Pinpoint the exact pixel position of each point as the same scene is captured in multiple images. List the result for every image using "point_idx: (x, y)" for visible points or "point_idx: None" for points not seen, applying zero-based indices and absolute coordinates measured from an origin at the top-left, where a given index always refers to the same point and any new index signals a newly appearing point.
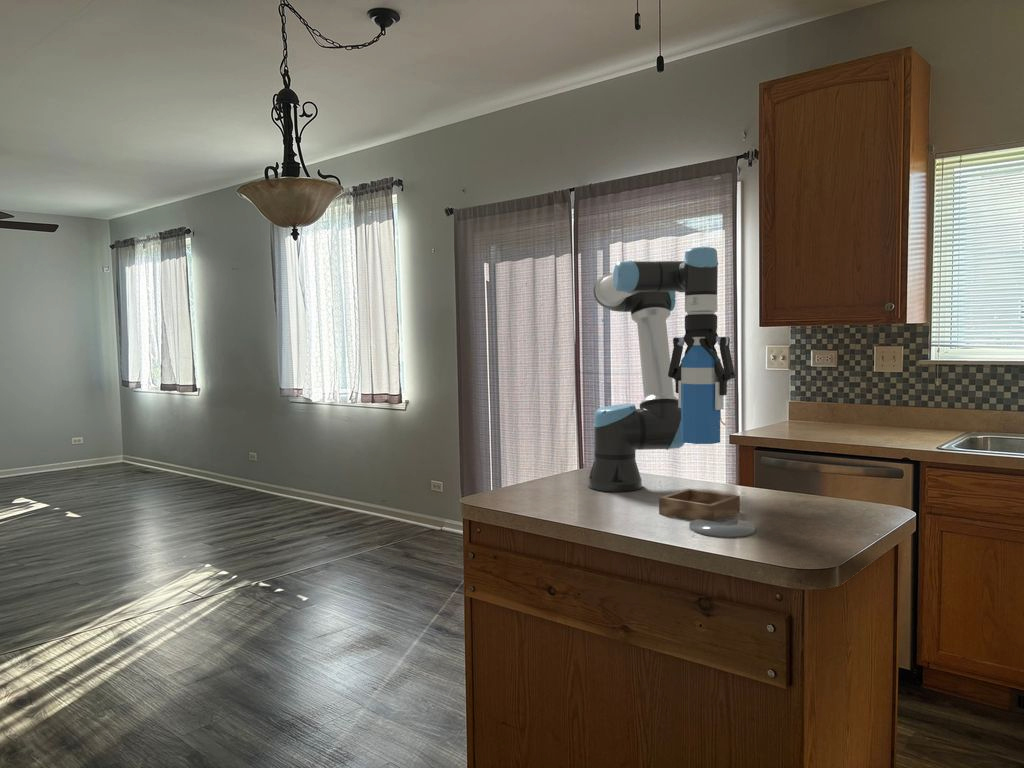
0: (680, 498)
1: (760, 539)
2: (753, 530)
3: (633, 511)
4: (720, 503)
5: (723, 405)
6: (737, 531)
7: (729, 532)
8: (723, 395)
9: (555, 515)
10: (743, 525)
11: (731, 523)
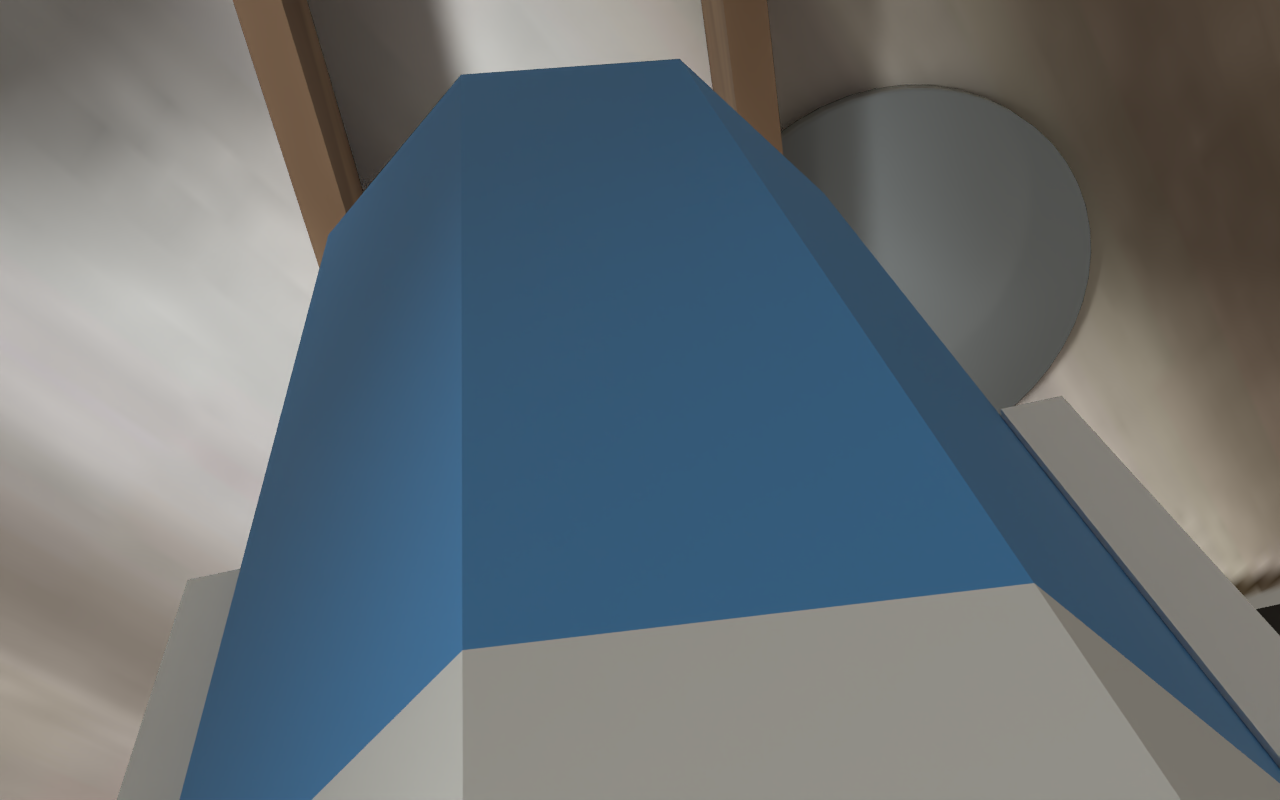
0: (318, 91)
1: (1157, 286)
2: (1088, 229)
3: (193, 390)
4: (781, 144)
5: (1093, 434)
6: (1033, 329)
7: (1008, 378)
8: (1209, 564)
9: (33, 783)
10: (994, 189)
11: (914, 209)
